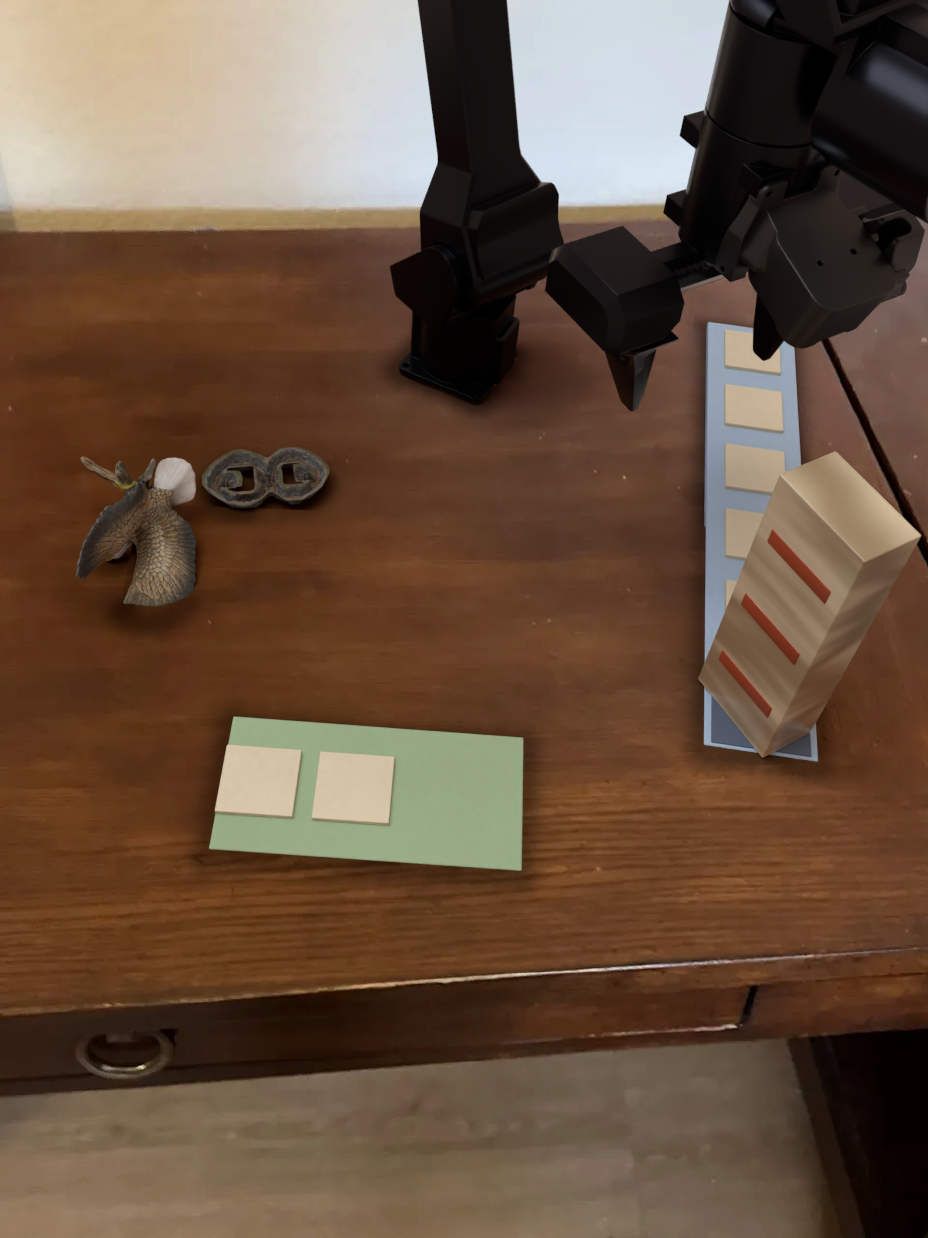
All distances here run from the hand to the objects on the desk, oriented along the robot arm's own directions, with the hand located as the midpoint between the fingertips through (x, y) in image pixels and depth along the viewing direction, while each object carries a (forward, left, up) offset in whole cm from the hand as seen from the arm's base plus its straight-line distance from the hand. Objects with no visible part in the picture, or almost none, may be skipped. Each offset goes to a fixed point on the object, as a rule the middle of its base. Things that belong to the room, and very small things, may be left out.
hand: (696, 380), depth 67 cm
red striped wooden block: (+10, -9, -13) cm, 19 cm away
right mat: (+5, +5, -13) cm, 15 cm away
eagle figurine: (-26, -18, -13) cm, 34 cm away
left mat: (-6, -25, -13) cm, 29 cm away
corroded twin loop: (-23, -9, -13) cm, 28 cm away
